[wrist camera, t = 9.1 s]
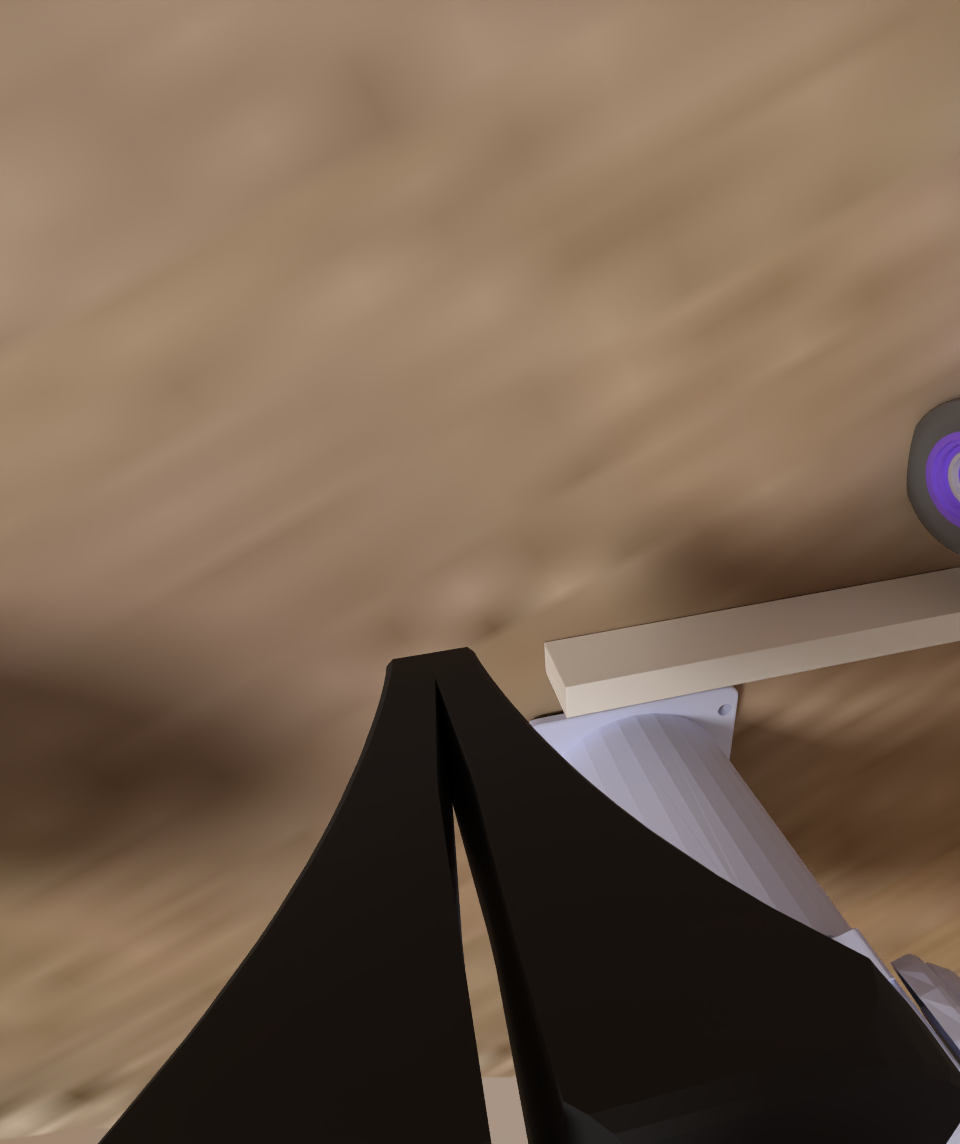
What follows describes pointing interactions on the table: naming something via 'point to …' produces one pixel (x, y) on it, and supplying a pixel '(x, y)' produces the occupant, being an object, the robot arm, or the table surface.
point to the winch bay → (753, 642)
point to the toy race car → (937, 473)
